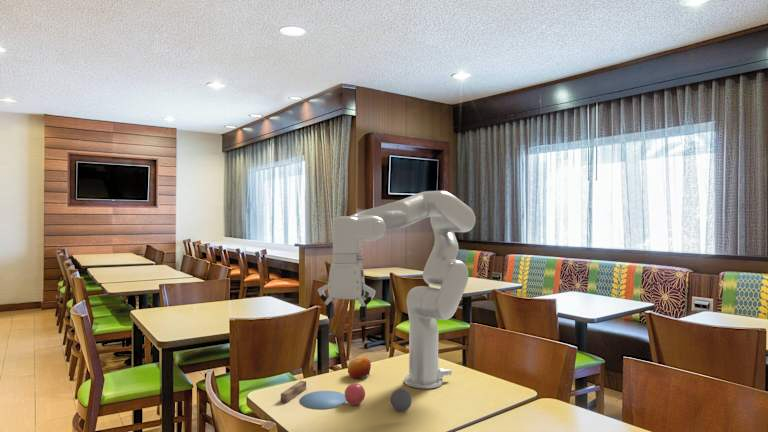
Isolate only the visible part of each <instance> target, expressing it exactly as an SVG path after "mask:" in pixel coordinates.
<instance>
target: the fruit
mask: <svg viewBox="0 0 768 432" xmlns="http://www.w3.org/2000/svg"><path fill="white" fill-rule="evenodd" d="M371 367H372V364H371V361H370V359H369V358H368V357H366V356H363V355H359V356H357V357H354V358H353V359H351V360H350V361H349V363H348V366H347V373H348V375H349V376H350V377H351V378H353V379H355V380H359V379H360V380H361V379H367V376H370V372H371Z"/></svg>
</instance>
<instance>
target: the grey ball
mask: <svg viewBox="0 0 768 432" xmlns="http://www.w3.org/2000/svg"><path fill="white" fill-rule="evenodd" d="M412 402H413V401H412V396H411V393H410V392H409V391H408V390H406V389H404V388H398V389H395V390H393V392H392V393H391V395H390V406H391V407H392V409H393V410H395V411H396V412H400V413H402V412H405V411H408V410H409V409H410V407H411V405H412Z"/></svg>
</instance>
